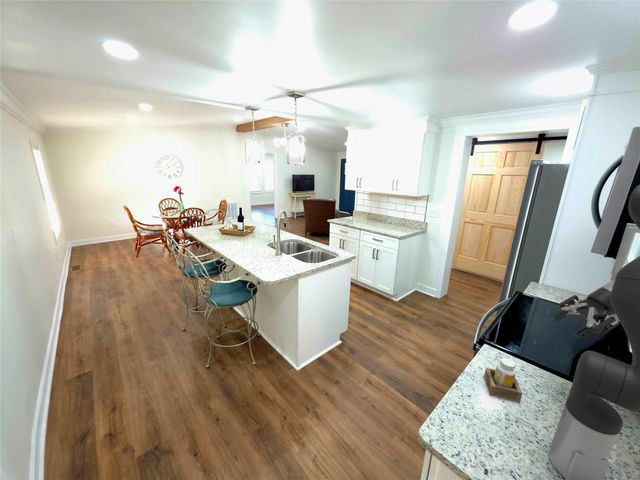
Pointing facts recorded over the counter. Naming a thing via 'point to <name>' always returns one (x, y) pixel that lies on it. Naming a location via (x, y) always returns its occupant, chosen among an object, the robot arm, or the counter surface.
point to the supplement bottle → (505, 373)
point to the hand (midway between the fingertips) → (564, 327)
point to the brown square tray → (502, 388)
